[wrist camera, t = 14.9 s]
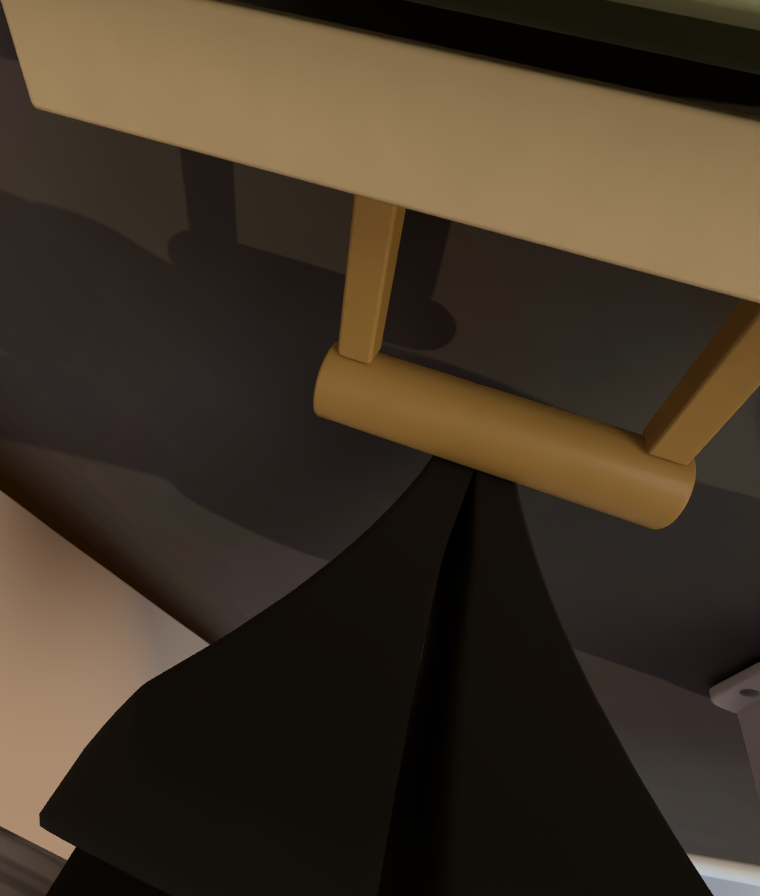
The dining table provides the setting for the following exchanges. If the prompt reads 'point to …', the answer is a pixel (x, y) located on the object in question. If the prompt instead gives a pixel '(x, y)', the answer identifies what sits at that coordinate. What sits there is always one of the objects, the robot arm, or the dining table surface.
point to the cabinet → (640, 24)
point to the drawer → (446, 205)
